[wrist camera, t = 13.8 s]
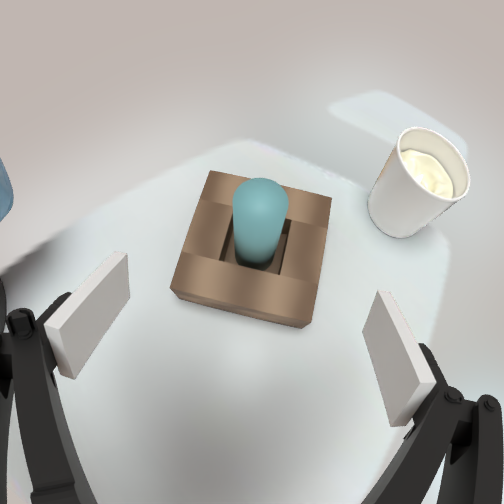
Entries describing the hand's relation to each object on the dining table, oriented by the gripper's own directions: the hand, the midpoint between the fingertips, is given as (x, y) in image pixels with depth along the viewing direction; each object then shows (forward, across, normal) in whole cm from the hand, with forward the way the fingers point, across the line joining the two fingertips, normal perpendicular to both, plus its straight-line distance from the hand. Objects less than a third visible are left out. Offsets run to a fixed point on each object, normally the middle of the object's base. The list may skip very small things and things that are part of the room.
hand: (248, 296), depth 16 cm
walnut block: (+20, 0, -7) cm, 21 cm away
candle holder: (+27, +18, -1) cm, 32 cm away
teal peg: (+19, 0, -6) cm, 20 cm away
